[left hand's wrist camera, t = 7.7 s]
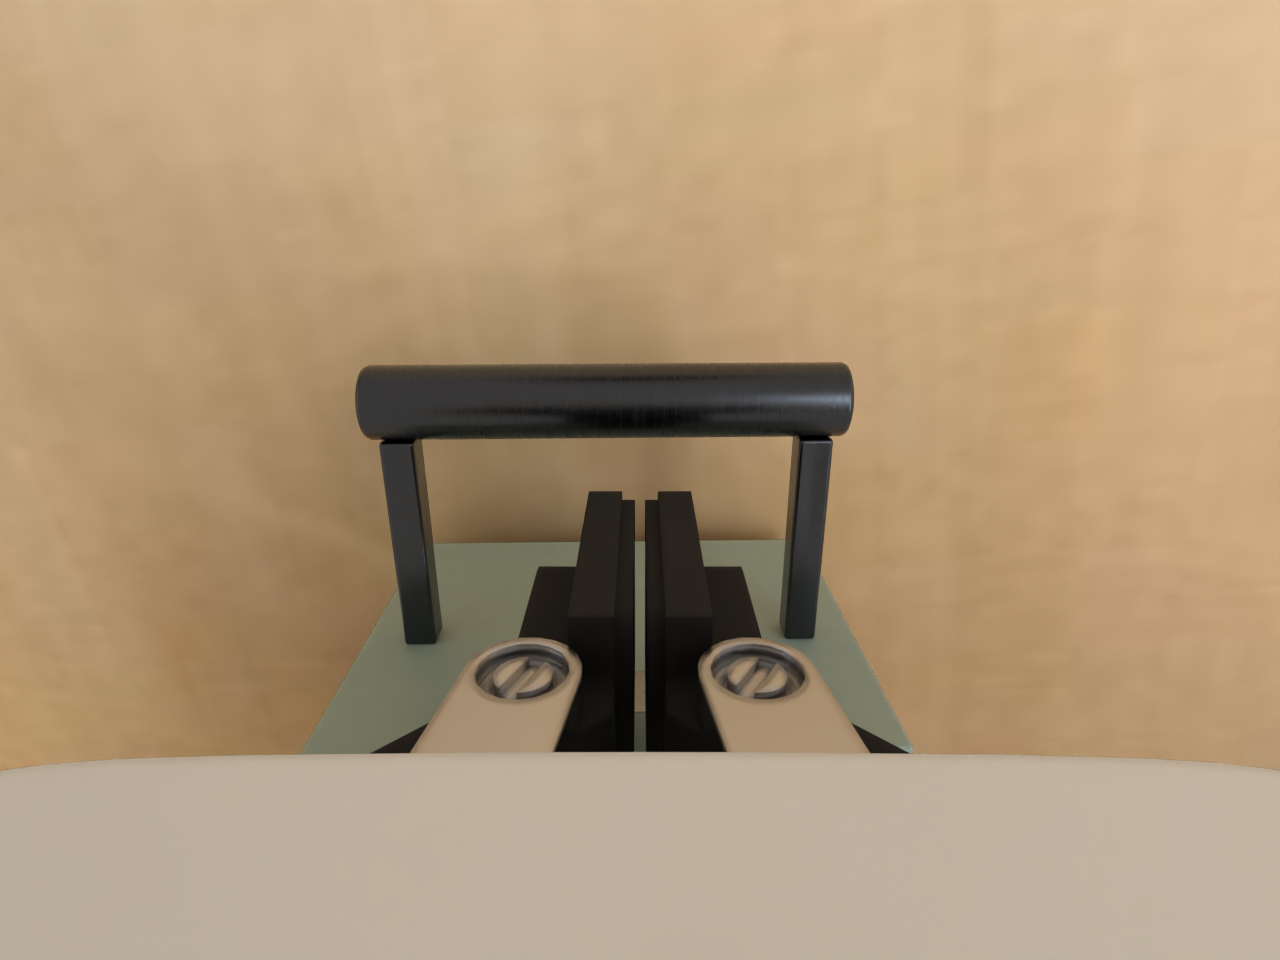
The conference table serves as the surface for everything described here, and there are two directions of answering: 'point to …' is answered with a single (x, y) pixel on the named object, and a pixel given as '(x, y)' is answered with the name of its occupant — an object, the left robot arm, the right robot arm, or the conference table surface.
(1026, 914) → the left robot arm
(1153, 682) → the conference table surface
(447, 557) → the drawer
